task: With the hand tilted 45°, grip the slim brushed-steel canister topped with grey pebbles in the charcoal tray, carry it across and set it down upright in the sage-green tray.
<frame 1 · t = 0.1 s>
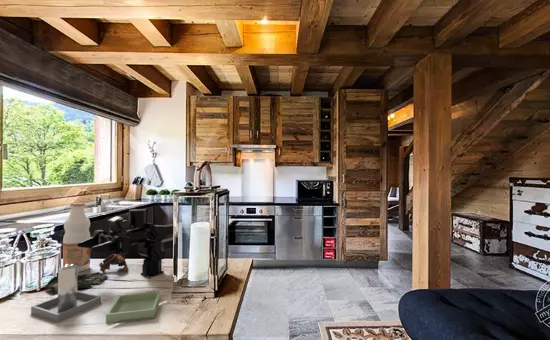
hand: (84, 247, 91), 17 cm above the table, tool horizontal, fingers open, 9 cm apart
pebble canister: (67, 308, 83), point 1 cm above the table, touching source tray
brown arched figure: (115, 271, 116), on the table
fruit juice: (76, 270, 117), on the table
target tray: (135, 310, 83), on the table
decorative rock: (80, 286, 101), on the table
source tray: (67, 310, 83), on the table
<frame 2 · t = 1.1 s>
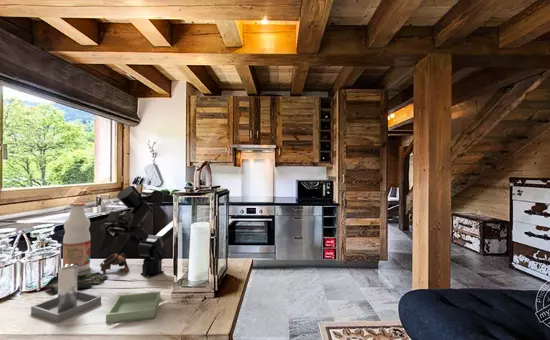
hand: (108, 252, 95), 14 cm above the table, tool tilted 45°, fingers open, 9 cm apart
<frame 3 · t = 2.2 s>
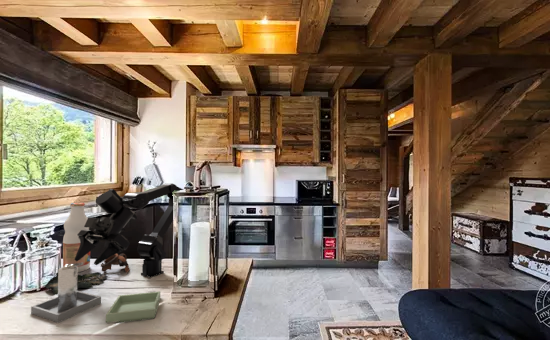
hand: (85, 262, 88), 13 cm above the table, tool tilted 45°, fingers open, 9 cm apart
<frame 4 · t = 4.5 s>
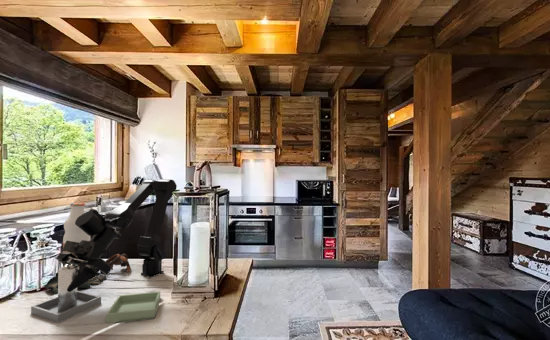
hand: (62, 289, 82), 7 cm above the table, tool tilted 45°, fingers closed on pebble canister, 5 cm apart
pebble canister: (67, 308, 83), point 1 cm above the table, touching gripper, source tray
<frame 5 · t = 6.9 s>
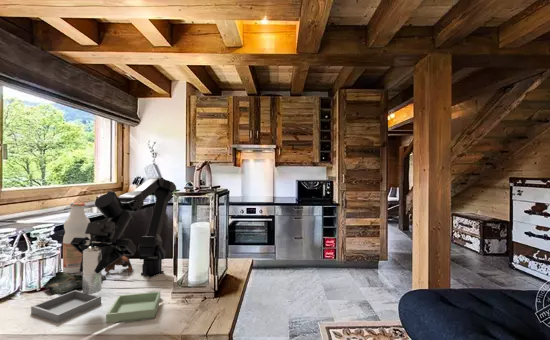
hand: (88, 272, 80), 12 cm above the table, tool tilted 45°, fingers closed on pebble canister, 5 cm apart
pebble canister: (92, 290, 82), point 6 cm above the table, touching gripper
when the fingers open (8 cm above the table, at t = 9.4 s): pebble canister drops 1 cm, resting on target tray.
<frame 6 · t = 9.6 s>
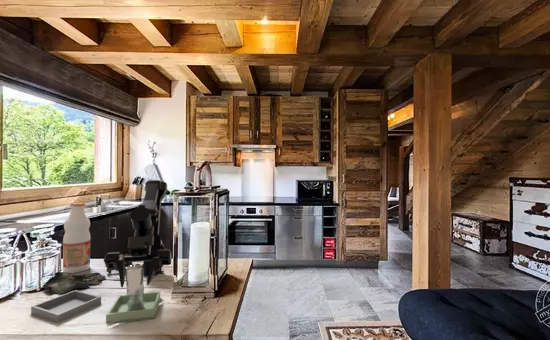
hand: (134, 285, 82), 8 cm above the table, tool tilted 45°, fingers open, 7 cm apart
pebble canister: (135, 308, 83), point 1 cm above the table, touching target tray
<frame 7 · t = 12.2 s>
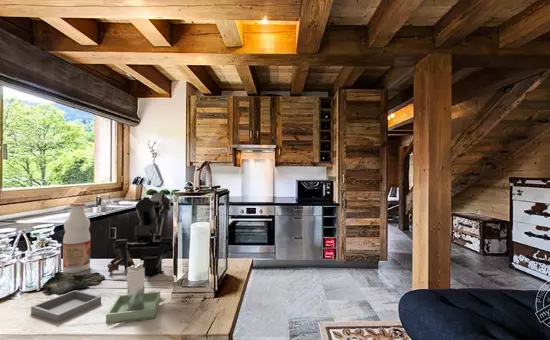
hand: (141, 268, 91), 10 cm above the table, tool tilted 45°, fingers open, 9 cm apart
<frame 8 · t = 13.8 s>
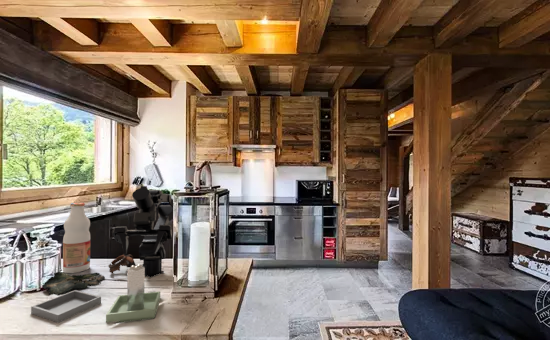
hand: (139, 254, 94), 14 cm above the table, tool tilted 45°, fingers open, 9 cm apart
at the end: pebble canister inside the target area on the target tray (0.0 cm from its centre), point 0.6 cm above the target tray's base; pebble canister tilted 0°; the gripper is holding nothing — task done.
